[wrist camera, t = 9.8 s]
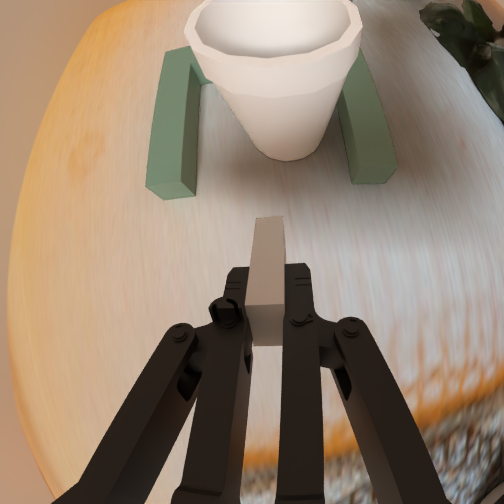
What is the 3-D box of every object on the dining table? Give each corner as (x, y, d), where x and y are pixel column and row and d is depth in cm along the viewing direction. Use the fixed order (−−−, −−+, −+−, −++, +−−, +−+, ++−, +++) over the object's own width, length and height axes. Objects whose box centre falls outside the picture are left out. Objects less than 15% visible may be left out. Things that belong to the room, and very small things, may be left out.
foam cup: (240, 186, 24) (182, 86, 11) (228, 101, 25) (185, -4, 12) (352, 168, 22) (391, 58, 10) (325, 85, 24) (330, -26, 11)
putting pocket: (420, 183, 21) (540, 49, 4) (163, 200, 24) (12, 86, 7) (379, 56, 24) (407, -74, 7) (176, 71, 27) (107, -47, 10)
